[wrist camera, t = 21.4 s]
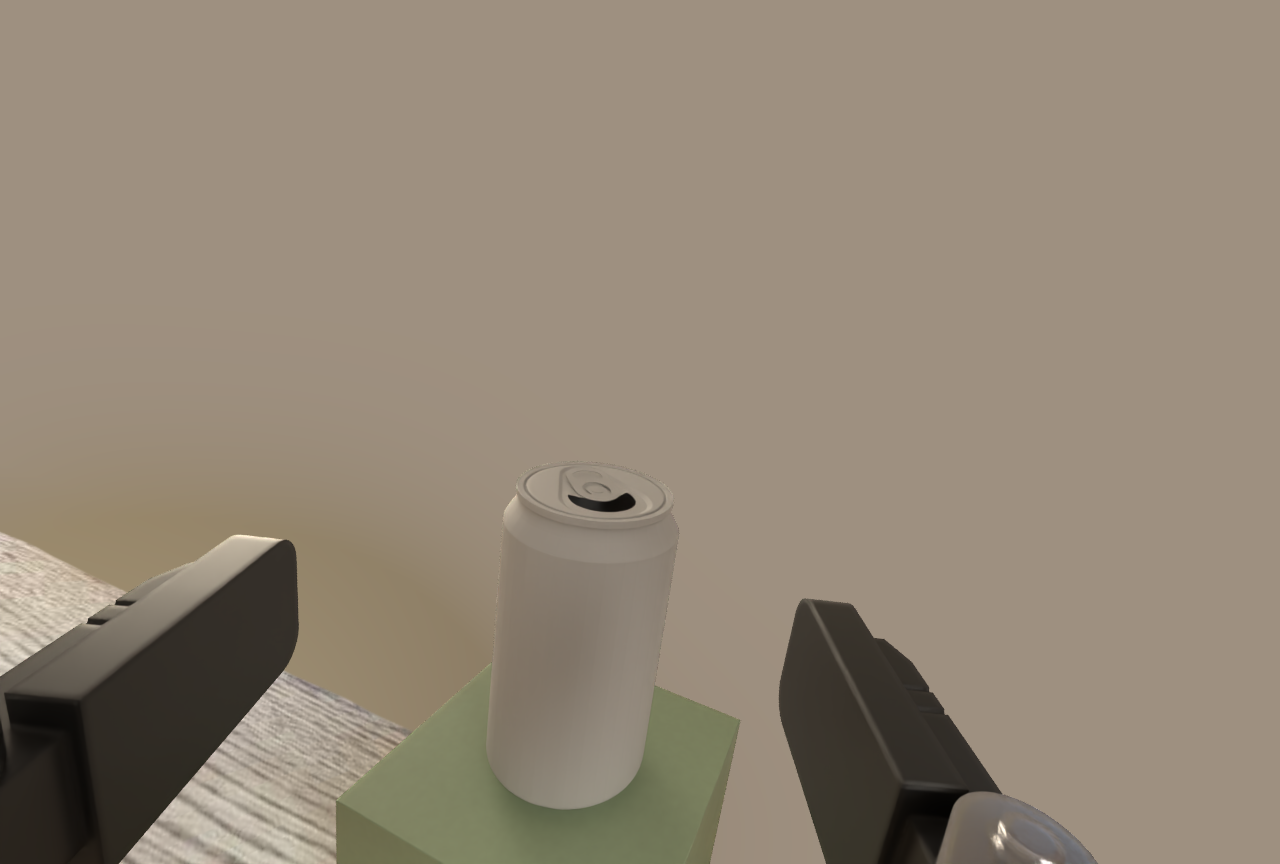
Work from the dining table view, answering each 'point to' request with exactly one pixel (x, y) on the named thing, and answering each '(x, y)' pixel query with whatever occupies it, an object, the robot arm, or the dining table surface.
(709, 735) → the stand
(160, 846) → the dining table surface
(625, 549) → the beverage can
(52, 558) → the dining table surface
